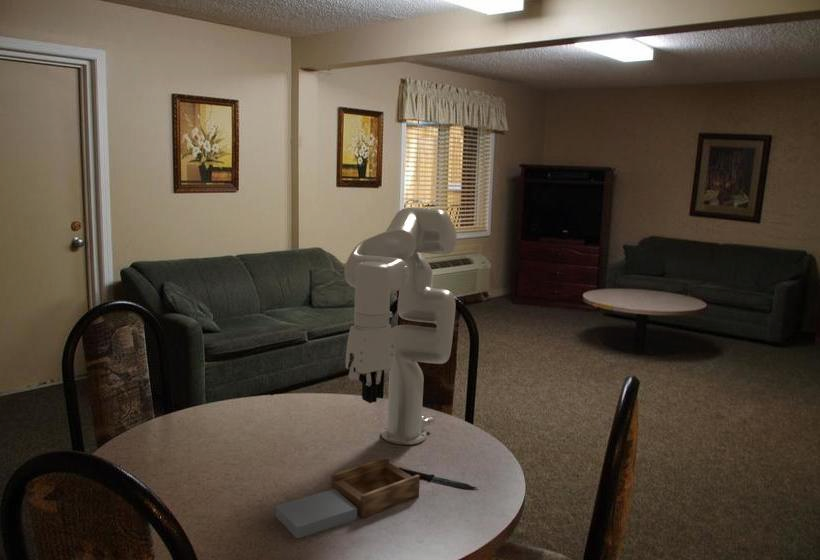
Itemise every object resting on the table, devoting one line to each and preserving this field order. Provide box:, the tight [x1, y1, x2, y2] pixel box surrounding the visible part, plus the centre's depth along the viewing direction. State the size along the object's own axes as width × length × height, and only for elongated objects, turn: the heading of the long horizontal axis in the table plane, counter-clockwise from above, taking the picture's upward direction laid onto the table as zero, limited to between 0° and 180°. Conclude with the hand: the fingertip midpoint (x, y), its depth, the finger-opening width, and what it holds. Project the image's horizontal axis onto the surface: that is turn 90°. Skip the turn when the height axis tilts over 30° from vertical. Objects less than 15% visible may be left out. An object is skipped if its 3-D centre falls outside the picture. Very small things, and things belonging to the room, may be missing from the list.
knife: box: [398, 466, 477, 490], centre depth 156 cm, size 21×1×3 cm
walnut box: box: [330, 456, 421, 520], centre depth 146 cm, size 16×12×5 cm
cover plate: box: [275, 489, 358, 539], centre depth 137 cm, size 14×10×3 cm
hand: (369, 400), depth 142 cm, fingers closed
